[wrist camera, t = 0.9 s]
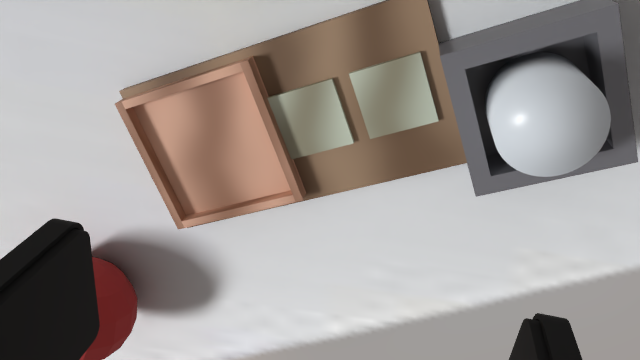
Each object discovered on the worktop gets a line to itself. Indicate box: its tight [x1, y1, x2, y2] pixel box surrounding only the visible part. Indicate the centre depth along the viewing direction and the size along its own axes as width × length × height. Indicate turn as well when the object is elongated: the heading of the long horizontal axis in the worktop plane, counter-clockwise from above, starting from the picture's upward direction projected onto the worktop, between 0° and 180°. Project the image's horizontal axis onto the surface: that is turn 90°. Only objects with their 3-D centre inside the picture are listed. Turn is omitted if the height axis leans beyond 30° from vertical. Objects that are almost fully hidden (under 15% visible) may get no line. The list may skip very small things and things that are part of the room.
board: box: [115, 0, 467, 229], centre depth 32 cm, size 19×10×2 cm, turn 109°
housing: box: [439, 0, 638, 196], centre depth 28 cm, size 8×8×3 cm
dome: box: [485, 52, 611, 177], centre depth 26 cm, size 5×5×4 cm
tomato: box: [79, 257, 137, 360], centre depth 37 cm, size 8×8×8 cm
